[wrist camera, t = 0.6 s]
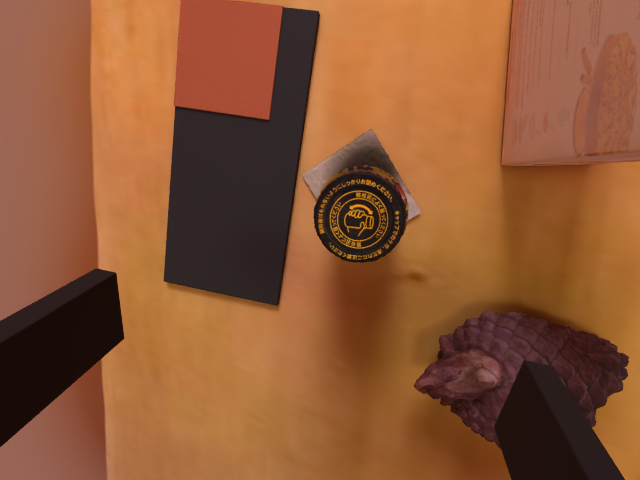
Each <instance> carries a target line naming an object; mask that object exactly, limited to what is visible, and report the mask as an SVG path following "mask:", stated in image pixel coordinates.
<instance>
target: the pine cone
mask: <svg viewBox="0 0 640 480" xmlns="http://www.w3.org/2000/svg"><path fill="white" fill-rule="evenodd" d="M439 342H440V349H441V350H440V351H439V353H438V359H439V361H437V362H436V363H432V364H431V365H429V366H428V367H427V368H426V369H425V372H424V373H423V374H422V375H421V376H420V378H419V379H417V381H416V382H415V384H414V387H415V388H416V389H417V390H418V391H420V392H421V393H423V394H428V395H430V396H431V397H432V398H433V399H439V398H441V402H440V404H441V405H442V406H446V405H450V406H451V412H453V413H455V414H456V415H458V416H459V417H461V419H462V420H463V423H464V424H465V425H466V426H467V427H471V430H472V431H473V432H475V433H478V434H480V435H481V436H482V437H485V439H486V440H487V441H490V442H495V443H496V444H497V446H498V447H499V448H500V449H501V447H500V444H499V441H498V438H497V435H496V432H495V429H494V425H495V423H496V421H497V419H498V417H499V414H500V412H501V410H502V408H503V405H504V403H505V401H506V399H507V397H508V394H509V392H510V390H511V388H512V385H513V383H514V381H515V379H516V377H517V374H518V372H519V370H520V368H521V365H522V363H523V361H524V360H527V361H532V362H536V363H541V364H546V365H550V366H552V367H553V368H554V370H555V371H556V373H557V374H558V376H559V378H560V379H561V381H562V382H563V384H564V385H565V387H566V388H567V390H568V392H569V393H570V395H571V396H572V398H573V399H574V401H575V403H576V404H577V406H578V407H579V409H580V410H581V412H582V413H583V415H584V417H585V418H586V420H587V421H588V423H589V424H590V426H591V427H594V426H595V424H596V420H595V415H596V409H597V408H600V407H602V406H604V405H605V404H606V402H607V398H608V397H609V396H610V395H612V394H613V393H616V392H620V391H622V390H623V383H622V380H625V379H626V378H627V376H628V373H627V369H625V368H624V367H626V366H627V365H628V362H629V361H628V358H629V357H628V356H626V355H625V354H623V353H618V352H617V350H618V349H617V346H616V345H614V344H612V343H610V341H608V340H606V339H602V338H598V336H596V335H595V334H589V333H587V332H582V331H578V332H577V331H576V330H575V329H573V328H571V327H570V326H565V325H561V324H553V323H550V322H549V321H548V320H545V319H543V318H539V317H534V318H532V317H530V316H527V315H525V314H523V313H517V312H514V311H509V312H507V313H505V314H503V315H501V314H500V313H493V312H489V311H487V312H484V313H482V314H481V316H480V318H471V319H467V320H466V321H465V323H464V325H463V326H459V327H458V328H457V329H456V330H455V332H454V333H452V334H448V335H445V336H443V335H442V336H441V337H440V338H439Z"/></svg>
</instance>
